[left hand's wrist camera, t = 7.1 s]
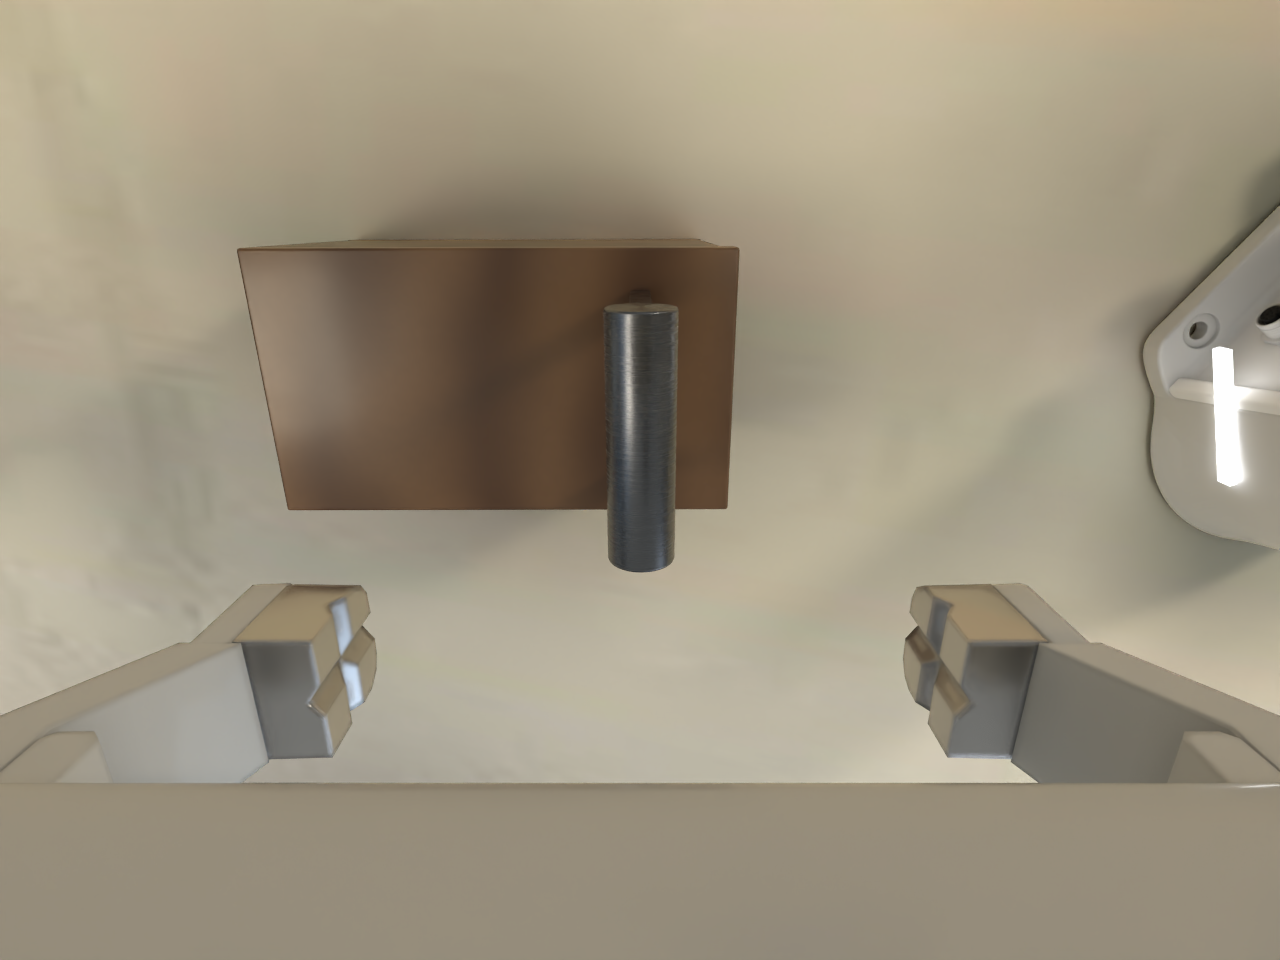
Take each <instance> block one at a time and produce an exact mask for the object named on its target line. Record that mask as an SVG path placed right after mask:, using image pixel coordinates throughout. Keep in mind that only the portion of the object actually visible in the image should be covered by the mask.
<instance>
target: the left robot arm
mask: <svg viewBox="0 0 1280 960" xmlns="http://www.w3.org/2000/svg"><path fill="white" fill-rule="evenodd" d="M1195 323H1196V330H1195V331H1194V333H1193V334H1192V335H1189V331H1190V328H1191V327H1192V325H1193V324H1195ZM1143 362H1144V367H1145V371H1146V374H1147V377H1148V380H1149V383H1150V386H1151V389H1152V392H1153V394H1154V415H1153V422H1152V430H1151V441H1150V454H1151V463H1152V469H1153V473H1154V477H1155V480H1156V483H1157V485H1158V488H1159V490H1160V492H1161V494H1162V496H1163V497H1164V499H1165V500H1166V502H1167V503H1168V504H1169V506H1170V507H1171V508H1172V509H1173V510H1174V512H1175V513H1176V514H1177V515H1178V516H1180V517H1181V518H1182V519H1183V520H1184V521H1186V522H1187V523H1189V524H1190V525H1192V526H1193V527H1195V528H1197V529H1199V530H1201V531H1203V532H1206V533H1208V534H1211V535H1214V536H1218V537H1221V538H1226V539H1232V540H1238V541H1244V542H1249V543H1254V544H1258V545H1262V546H1266V547H1269V548H1273V549H1277V550H1280V205H1279V206H1278V207H1277V208H1276V209H1275V210H1274V211H1273V212H1272V213H1271V214H1270V215H1269V216H1268V217H1267V218H1266V219H1265V220H1264V221H1263V222H1262V223H1261V224H1260V225H1259V226H1258V227H1257V228H1256V229H1255V230H1254V231H1253V232H1252V233H1251V234H1250V235H1249V236H1248V237H1247V238H1246V239H1245V240H1244V241H1243V242H1242V243H1241V244H1240V245H1239V246H1238V247H1237V248H1236V249H1235V250H1234V251H1233V252H1232V253H1231V254H1230V255H1229V256H1228V257H1227V258H1226V259H1225V260H1224V261H1223V262H1222V263H1221V264H1220V265H1219V266H1218V267H1217V268H1216V269H1215V270H1214V271H1213V272H1212V273H1211V274H1210V275H1209V276H1208V277H1207V278H1206V279H1205V280H1204V281H1203V282H1202V283H1201V284H1200V285H1199V286H1198V287H1197V288H1196V289H1195V290H1194V291H1193V292H1192V293H1191V294H1190V295H1189V296H1188V297H1187V298H1185V299H1184V300H1183V301H1182V302H1181V303H1180V304H1179V305H1178V306H1177V307H1176V308H1175V309H1174V310H1173V311H1172V312H1171V313H1170V314H1169V315H1168V316H1167V317H1166V318H1165V319H1164V320H1163V321H1162V322H1161V323H1160V324H1159V325H1158V326H1157V327H1156V328H1155V329H1154V330H1153V331H1152V333H1151V334H1150V335H1149V337H1148V338H1147V340H1146V342H1145V344H1144V348H1143ZM369 614H370V607H369V602H368V597H367V592H366V591H365V590H364V589H363V588H362V587H361V585H311V584H294V585H292V584H290V583H287V584H259V585H252V586H251V587H250V588H249V589H248V590H247V591H246V592H245V593H244V594H243V595H242V596H241V597H239V598H238V599H237V600H236V601H235V602H234V603H233V604H232V605H231V606H230V607H229V608H228V609H226V610H225V611H224V612H223V613H222V614H221V615H220V616H219V617H218V618H217V619H216V620H215V621H213V622H212V623H211V624H210V625H209V626H208V627H207V628H206V629H205V630H204V631H203V632H202V633H200V634H199V635H198V636H197V637H196V638H195V639H194V640H193V641H192V642H191V643H178V644H175V645H173V646H170V647H168V648H165V649H163V650H160V651H158V652H155V653H153V654H151V655H148V656H146V657H143V658H141V659H138V660H136V661H133V662H131V663H128V664H126V665H124V666H121V667H119V668H116V669H114V670H111V671H109V672H106V673H104V674H101V675H99V676H97V677H94V678H92V679H89V680H87V681H84V682H82V683H79V684H77V685H74V686H72V687H70V688H67V689H65V690H62V691H60V692H57V693H55V694H52V695H50V696H47V697H45V698H43V699H40V700H38V701H35V702H33V703H30V704H28V705H25V706H23V707H20V708H18V709H16V710H13V711H11V712H8V713H6V714H3V715H1V716H0V960H1280V716H1279V715H1276V714H1274V713H1271V712H1269V711H1266V710H1264V709H1262V708H1259V707H1257V706H1254V705H1252V704H1249V703H1247V702H1244V701H1242V700H1239V699H1237V698H1235V697H1232V696H1230V695H1227V694H1225V693H1222V692H1220V691H1217V690H1215V689H1213V688H1210V687H1208V686H1205V685H1203V684H1200V683H1198V682H1195V681H1193V680H1191V679H1188V678H1186V677H1183V676H1181V675H1178V674H1176V673H1173V672H1171V671H1169V670H1166V669H1164V668H1161V667H1159V666H1156V665H1154V664H1151V663H1149V662H1146V661H1144V660H1142V659H1139V658H1137V657H1134V656H1132V655H1129V654H1127V653H1124V652H1122V651H1120V650H1117V649H1115V648H1112V647H1110V646H1107V645H1105V644H1102V643H1089V642H1088V641H1087V640H1086V639H1085V638H1084V637H1083V636H1082V635H1081V634H1080V633H1079V632H1077V631H1076V630H1075V629H1074V628H1073V627H1072V626H1071V625H1070V624H1069V623H1068V622H1067V621H1066V620H1064V619H1063V618H1062V617H1061V616H1060V615H1059V614H1058V613H1057V612H1056V611H1055V610H1054V609H1053V608H1052V607H1050V606H1049V605H1048V604H1047V603H1046V602H1045V601H1044V600H1043V599H1042V598H1041V597H1040V596H1039V595H1038V594H1036V593H1035V592H1034V591H1033V590H1032V589H1031V588H1030V587H1029V586H1027V585H1023V584H1020V583H1015V584H992V585H991V584H973V585H932V586H920V587H916V590H915V592H914V594H913V596H912V601H911V607H910V614H911V615H912V617H913V618H914V620H915V622H916V623H917V625H918V626H917V627H916V628H915V629H914V630H913V631H912V632H911V633H910V634H909V635H908V636H907V637H906V638H905V646H904V654H903V664H904V674H905V679H906V682H907V686H908V689H909V691H910V693H911V695H912V697H913V698H914V700H915V702H916V703H918V704H919V705H921V706H923V707H924V708H926V709H927V710H929V711H930V713H929V719H928V725H929V726H930V728H931V730H932V732H933V733H934V735H935V737H936V738H937V740H938V742H939V744H940V745H941V747H942V749H943V750H944V752H945V754H946V756H947V757H951V758H988V759H1011V762H1012V763H1013V764H1014V765H1016V766H1017V767H1018V768H1020V769H1021V770H1022V771H1024V772H1025V773H1026V774H1028V775H1029V776H1030V777H1032V778H1033V779H1034V780H1036V781H1037V782H1038V783H242V782H243V781H244V780H246V779H247V778H248V777H250V776H251V775H252V774H254V773H255V772H256V771H258V770H259V769H260V768H262V767H263V766H265V765H266V764H267V763H269V759H291V758H327V757H333V756H334V754H335V752H336V751H337V749H338V747H339V745H340V744H341V742H342V740H343V738H344V737H345V735H346V733H347V732H348V730H349V728H350V726H351V725H352V719H351V713H350V711H351V710H353V709H354V708H356V707H357V706H359V705H361V704H362V703H364V702H365V700H366V698H367V697H368V695H369V693H370V691H371V689H372V686H373V682H374V677H375V673H376V666H377V652H376V645H375V638H374V637H373V636H372V635H371V634H370V633H369V632H368V631H367V630H366V629H365V628H364V627H363V626H362V625H363V623H364V622H365V620H366V618H367V617H368V615H369Z"/></svg>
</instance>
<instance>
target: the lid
mask: <svg viewBox="0 0 1280 960" xmlns="http://www.w3.org/2000/svg"><path fill="white" fill-rule="evenodd" d="M237 253H238V258H239V263H240V268H241V273H242V278H243V283H244V288H245V294H246V299H247V304H248V309H249V314H250V319H251V324H252V329H253V334H254V339H255V344H256V349H257V354H258V359H259V365H260V370H261V375H262V380H263V385H264V390H265V395H266V400H267V405H268V410H269V415H270V420H271V425H272V431H273V436H274V441H275V446H276V451H277V456H278V461H279V466H280V471H281V476H282V481H283V486H284V491H285V497H286V502H287V507H288V510H538V509H607V519H608V558H609V560H610V562H611V563H612V564H613V565H614V566H616V567H617V568H620V569H622V570H626V571H631V572H652V571H657V570H660V569H663V568H665V567H667V566H668V565H670V564H671V563H672V561H673V559H674V541H675V509H727V506H728V485H729V463H730V442H731V420H732V399H733V377H734V356H735V335H736V313H737V292H738V270H739V248H737V247H734V246H593V247H249V248H239V249H237Z"/></svg>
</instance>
